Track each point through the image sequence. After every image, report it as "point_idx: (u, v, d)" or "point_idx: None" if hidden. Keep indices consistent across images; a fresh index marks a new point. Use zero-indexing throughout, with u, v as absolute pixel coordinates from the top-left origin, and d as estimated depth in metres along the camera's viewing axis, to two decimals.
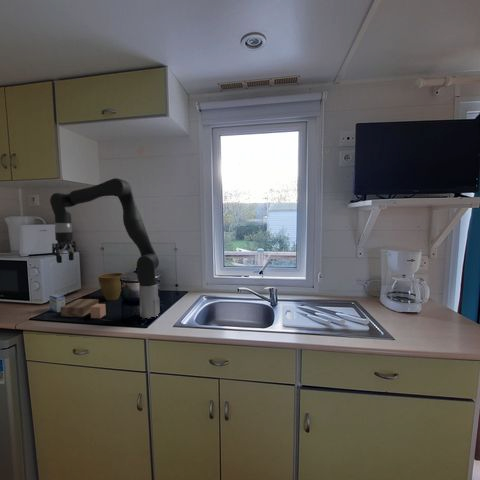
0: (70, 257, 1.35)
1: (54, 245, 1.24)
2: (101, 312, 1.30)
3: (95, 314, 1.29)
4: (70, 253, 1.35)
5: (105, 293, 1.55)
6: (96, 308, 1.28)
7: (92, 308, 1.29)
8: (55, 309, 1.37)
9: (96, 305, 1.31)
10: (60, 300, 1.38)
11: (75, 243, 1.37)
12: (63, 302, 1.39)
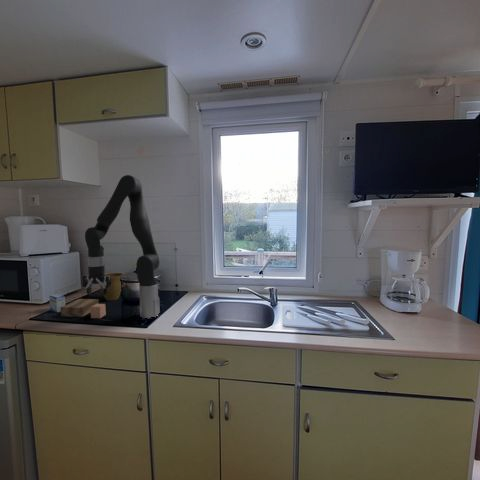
0: (90, 291, 1.31)
1: (109, 277, 1.30)
2: (101, 312, 1.30)
3: (95, 314, 1.29)
4: (89, 287, 1.30)
5: None
6: (96, 308, 1.28)
7: (92, 308, 1.29)
8: (55, 309, 1.37)
9: (96, 305, 1.31)
10: (60, 300, 1.38)
11: None
12: (63, 302, 1.39)
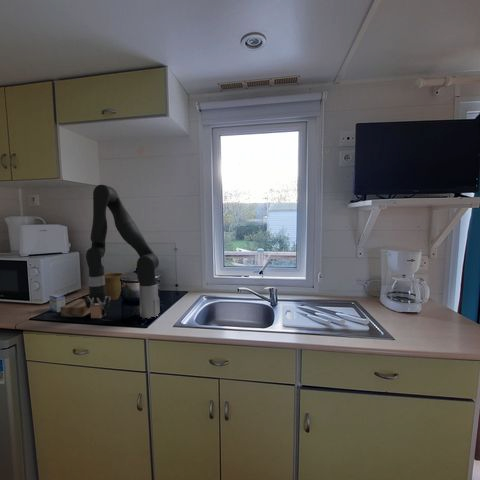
0: None
1: (109, 298, 1.30)
2: (101, 312, 1.30)
3: (95, 314, 1.29)
4: None
5: (105, 293, 1.55)
6: (96, 308, 1.28)
7: (92, 308, 1.29)
8: (55, 309, 1.37)
9: (96, 305, 1.31)
10: (60, 300, 1.38)
11: None
12: (63, 302, 1.39)
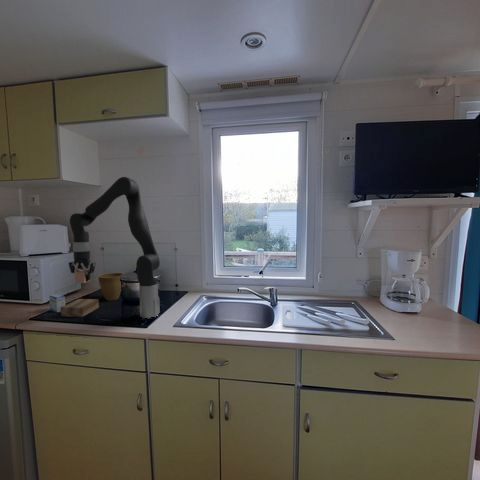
0: None
1: (94, 264, 1.34)
2: (85, 277, 1.33)
3: (79, 279, 1.32)
4: None
5: (105, 293, 1.55)
6: (80, 273, 1.32)
7: (76, 273, 1.32)
8: (55, 309, 1.37)
9: (80, 271, 1.34)
10: (60, 300, 1.38)
11: None
12: (63, 302, 1.39)
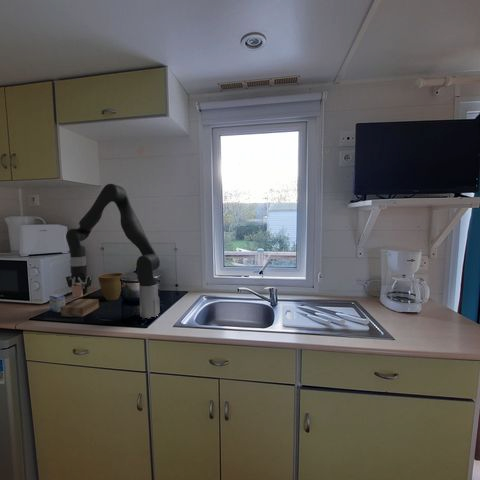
0: None
1: (90, 278, 1.36)
2: (82, 291, 1.36)
3: (76, 293, 1.35)
4: None
5: (105, 293, 1.55)
6: (77, 287, 1.34)
7: (73, 287, 1.34)
8: (55, 309, 1.37)
9: (78, 284, 1.37)
10: (60, 300, 1.38)
11: None
12: (63, 302, 1.39)
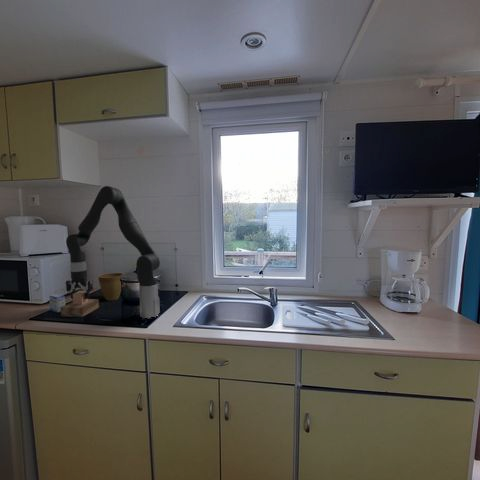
0: None
1: (91, 282, 1.36)
2: (83, 298, 1.36)
3: (77, 301, 1.35)
4: (73, 292, 1.37)
5: (105, 293, 1.55)
6: (78, 295, 1.35)
7: (74, 295, 1.35)
8: (55, 309, 1.37)
9: (78, 292, 1.37)
10: (60, 300, 1.38)
11: None
12: (63, 302, 1.39)
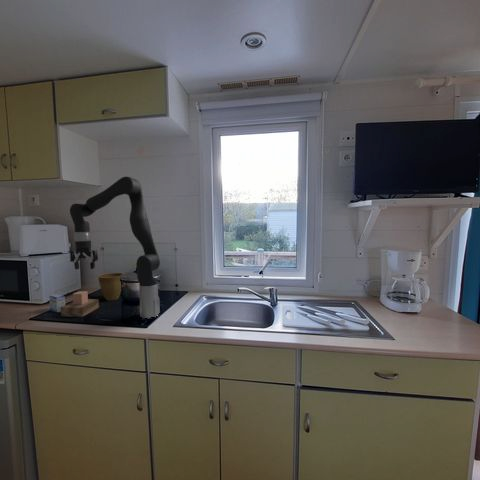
0: (77, 266, 1.37)
1: (95, 252, 1.36)
2: (83, 298, 1.36)
3: (77, 301, 1.35)
4: (77, 262, 1.36)
5: (105, 293, 1.55)
6: (78, 295, 1.35)
7: (74, 295, 1.35)
8: (55, 309, 1.37)
9: (78, 292, 1.37)
10: (60, 300, 1.38)
11: None
12: (63, 302, 1.39)
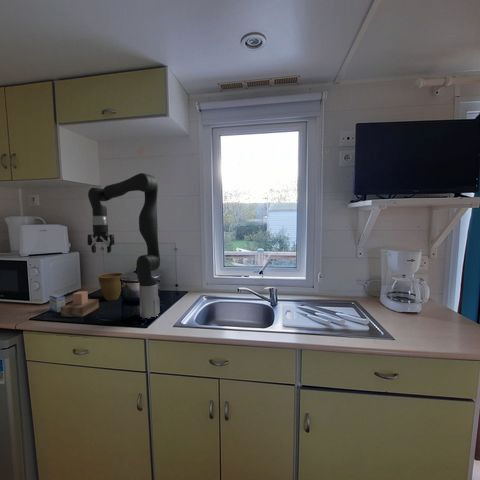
0: (94, 249, 1.39)
1: (112, 236, 1.38)
2: (83, 298, 1.36)
3: (77, 301, 1.35)
4: (94, 245, 1.39)
5: (105, 293, 1.55)
6: (78, 295, 1.35)
7: (74, 295, 1.35)
8: (55, 309, 1.37)
9: (78, 292, 1.37)
10: (60, 300, 1.38)
11: None
12: (63, 302, 1.39)
